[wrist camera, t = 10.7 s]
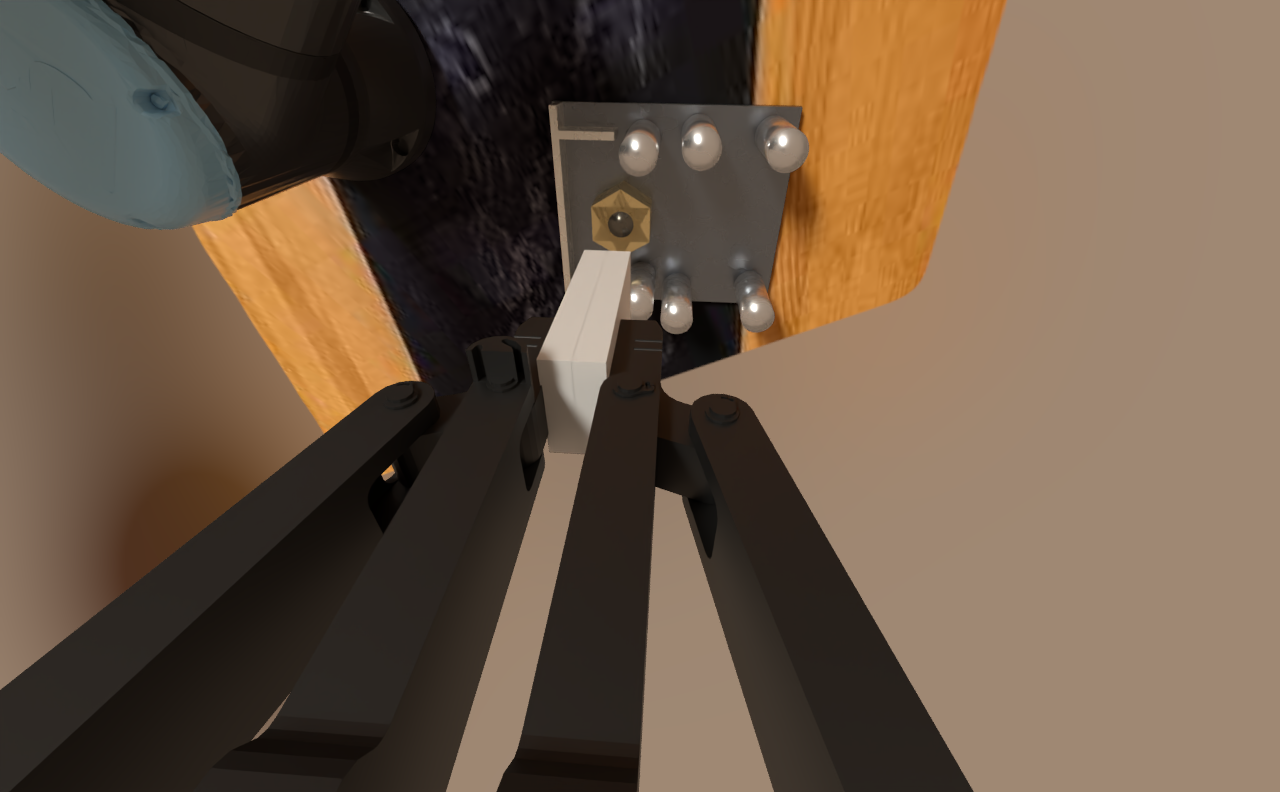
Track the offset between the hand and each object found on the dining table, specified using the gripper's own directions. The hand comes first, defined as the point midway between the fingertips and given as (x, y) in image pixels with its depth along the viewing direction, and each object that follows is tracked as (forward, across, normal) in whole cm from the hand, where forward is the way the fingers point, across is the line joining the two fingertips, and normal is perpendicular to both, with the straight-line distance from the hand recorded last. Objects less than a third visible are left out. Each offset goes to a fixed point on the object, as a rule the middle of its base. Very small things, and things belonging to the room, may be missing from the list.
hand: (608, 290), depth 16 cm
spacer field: (+30, +2, -6) cm, 31 cm away
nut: (+30, -2, -6) cm, 30 cm away
